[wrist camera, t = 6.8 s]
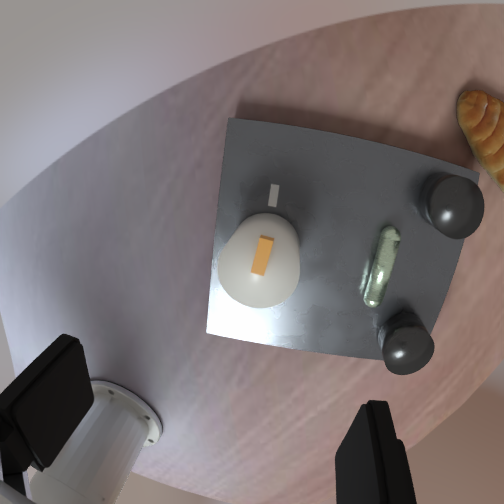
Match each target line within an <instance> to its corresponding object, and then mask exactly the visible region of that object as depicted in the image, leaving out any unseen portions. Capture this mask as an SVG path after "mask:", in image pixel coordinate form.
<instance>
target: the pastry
mask: <svg viewBox="0 0 504 504" xmlns="http://www.w3.org/2000/svg"><path fill="white" fill-rule="evenodd" d="M457 119H458V123H459V125H460V127H461V128H462V130H463V133H464V134H465V136H466V138H467V141H468V144H469V145H470V147H471V151H472V153H473V156H474V157H476V158H477V160H478V161H479V163H480V165H481V166H482V167H483V168H484V169H485V170H486V171H487V173H488V174H489V175H490V177H491V178H492V179H493V180H494V182H495V183H497V184H498V186H499V188H500V189H501V191H502V192H503V193H504V103H503V102H502V101H500V100H499V99H496V98H494V97H492V96H490V95H488V94H487V93H485V92H484V91H481V90H475V91H465V92H463V93H462V94H461V96H460V97H459V99H458V102H457Z"/></svg>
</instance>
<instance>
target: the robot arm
mask: <svg viewBox="0 0 504 504" xmlns="http://www.w3.org/2000/svg"><path fill="white" fill-rule="evenodd" d="M161 434H162V426H161V423H160V420H159V419H158V417H157V415H156V414H155V413H154V411H153V410H152V409H151V408H150V407H149V406H148V405H147V404H146V403H145V402H144V401H143V400H141V399H140V398H139V397H138V396H136V395H135V394H133V393H132V392H130V391H128V390H127V389H125V388H123V387H121V386H118V385H116V384H113V383H110V382H106V381H98V380H96V381H90V377H89V373H88V369H87V364H86V359H85V355H84V350H83V346H82V344H80V341H79V339H78V338H75V337H72V336H70V335H67V334H62V335H60V336H59V337H58V338H57V339H56V340H55V341H54V342H53V343H52V344H51V345H50V346H48V347H47V348H46V349H45V350H44V351H43V352H42V353H41V354H40V355H39V356H38V357H37V358H36V359H35V360H34V361H33V362H32V363H31V364H30V365H29V366H28V367H27V368H26V369H25V370H24V371H23V372H22V373H21V374H20V375H19V376H18V377H17V378H16V379H15V380H14V381H13V382H12V383H11V384H10V385H9V386H8V387H7V388H6V389H5V390H4V391H3V392H2V393H1V394H0V504H115V502H116V500H117V498H118V496H119V494H120V492H121V490H122V488H123V486H124V484H125V482H126V480H127V478H128V475H129V473H130V471H131V469H132V467H133V465H134V463H135V461H136V459H137V457H138V455H139V453H140V451H141V449H142V447H147V446H152V445H154V444H156V443H157V442H158V441H159V439H160V437H161ZM30 465H31V466H32V467H34V468H35V469H37V472H36V473H35V475H34V476H33V478H32V479H31V481H30V484H29V480H28V474H27V469H28V467H29V466H30ZM335 471H336V501H337V504H417V502H416V497H415V492H414V487H413V482H412V478H411V473H410V469H409V464H408V460H407V455H406V451H405V447H404V444H403V442H402V441H401V440H400V439H397V437H396V433H395V429H394V425H393V421H392V417H391V413H390V409H389V405H388V402H387V401H377V400H369V401H368V402H367V404H362V405H361V407H360V409H359V411H358V413H357V415H356V417H355V419H354V421H353V423H352V425H351V426H350V428H349V430H348V432H347V434H346V436H345V438H344V439H343V441H342V443H341V445H340V446H339V448H338V450H337V452H336V456H335Z"/></svg>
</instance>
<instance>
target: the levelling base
mask: <svg viewBox="0 0 504 504" xmlns="http://www.w3.org/2000/svg"><path fill="white" fill-rule="evenodd" d="M479 175H480V173H478V172H475V171H473V170H470V169H467V168H464V167H461V166H458V165H455V164H452V163H449V162H446V161H443V160H439V159H436V158H433V157H430V156H426V155H423V154H419V153H416V152H412V151H409V150H405V149H401V148H397V147H394V146H390V145H386V144H382V143H378V142H373V141H369V140H365V139H360V138H356V137H351V136H346V135H342V134H337V133H331V132H326V131H321V130H315V129H310V128H304V127H298V126H291V125H285V124H278V123H271V122H263V121H255V120H246V119H237V118H228V124H227V132H226V140H225V148H224V156H223V165H222V173H221V182H220V191H219V200H218V209H217V219H216V228H215V238H214V249H213V260H212V271H211V282H210V294H209V307H208V320H207V333H210V334H215V335H220V336H225V337H230V338H235V339H240V340H245V341H251V342H256V343H261V344H267V345H273V346H279V347H285V348H291V349H297V350H304V351H311V352H318V353H325V354H332V355H340V356H348V357H357V358H366V359H375V360H384V362H385V365H386V367H387V369H388V370H389V371H390V372H392V373H394V374H397V375H407V374H411V373H414V372H416V371H418V370H420V369H421V368H423V367H424V366H425V365H426V364H427V363H428V362H429V360H430V359H431V357H432V355H433V353H434V342H433V339H432V338H431V336H430V334H431V332H432V330H433V327H434V325H435V322H436V320H437V318H438V315H439V313H440V310H441V308H442V305H443V302H444V300H445V297H446V294H447V292H448V289H449V286H450V283H451V280H452V278H453V275H454V272H455V269H456V266H457V262H458V259H459V256H460V253H461V249H462V246H463V243H464V239H465V238H466V237H468V236H470V235H471V234H472V233H474V232H475V230H476V229H477V228H478V227H479V225H480V223H481V221H482V218H483V214H484V199H483V195H482V192H481V190H480V188H479V187H478V186H477V185H478V180H479ZM260 213H271V214H275V215H278V216H280V217H282V218H284V219H285V220H287V221H288V222H289V223H290V224H291V225H292V226H293V227H294V229H295V230H296V233H297V235H298V238H299V245H300V275H299V281H298V284H297V286H296V288H295V290H294V292H293V293H292V294H291V296H290V297H289V298H287V299H286V300H285V301H284V302H282V303H280V304H278V305H276V306H273V307H269V308H252V307H248V306H245V305H242V304H240V303H238V302H237V301H235V300H234V299H232V298H231V297H230V296H229V295H228V294H227V293H226V291H225V290H224V289H223V287H222V285H221V283H220V281H219V277H218V272H217V264H218V259H219V256H220V253H221V251H222V250H223V248H224V247H225V245H226V244H227V242H228V241H229V239H230V238H231V236H232V235H233V234H234V232H235V231H236V229H237V228H238V226H239V225H240V224H241V223H242V222H243V221H244V220H245V219H247V218H248V217H250V216H252V215H255V214H260Z"/></svg>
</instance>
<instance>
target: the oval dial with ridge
mask: <svg viewBox="0 0 504 504" xmlns="http://www.w3.org/2000/svg"><path fill="white" fill-rule="evenodd" d="M217 272H218V277H219V281H220V283H221V285H222V287H223V289H224V290H225V291H226V293H227V294H228V295H229V296H230V297H231V298H232V299H234V300H235V301H237V302H238V303H240V304H242V305H245V306H248V307H252V308H269V307H273V306H276V305H278V304H280V303H282V302H284V301H285V300H286V299H287V298H289V297H290V296H291V294H292V293H293V292H294V290H295V288H296V286H297V284H298V281H299V275H300V245H299V238H298V235H297V233H296V230H295V229H294V227H293V226H292V225H291V224H290V223H289V222H288V221H287V220H285V219H284V218H282V217H280V216H278V215H275V214H271V213H260V214H255V215H252V216H250V217H248V218H247V219H245V220H244V221H243V222H242V223H241V224H240V225H239V226H238V228H237V229H236V231H235V232H234V234H233V235H232V236H231V238H230V239H229V241H228V242H227V244H226V245H225V247H224V248H223V250H222V251H221V253H220V256H219V259H218V264H217Z"/></svg>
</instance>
